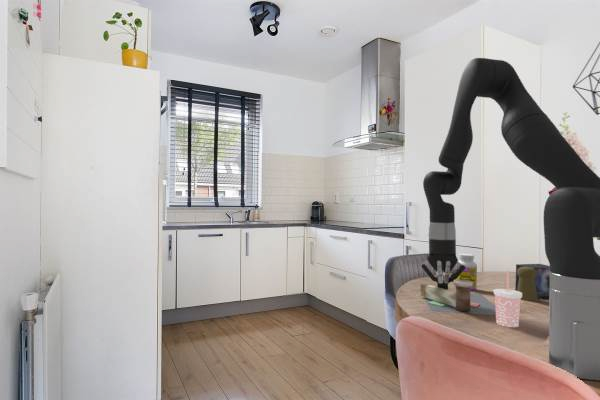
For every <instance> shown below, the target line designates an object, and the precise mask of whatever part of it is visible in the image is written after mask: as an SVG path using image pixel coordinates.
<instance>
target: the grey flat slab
mask: <svg viewBox="0 0 600 400" xmlns="http://www.w3.org/2000/svg"><path fill="white" fill-rule="evenodd" d="M419 292H420V293H421V289H420V290H419ZM423 299H424V301H425V303H426V305H427V306H428V308H429V310H430V311H432V312H445V313H459V314H474V315H485V316H486V315H487V316H496V308H495V303H493V302H491V301H490V300H489V299H487V298H486V296H484V295H483V294H481V293H473V292H472V293H471V292H470V311H460V310H457V309H456V307H454V306H451V305H448V304H445V303H442V302H439V301H435V300H432V299H429V298H426V297H423Z"/></svg>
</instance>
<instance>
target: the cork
mask: <svg viewBox="0 0 600 400" xmlns="http://www.w3.org/2000/svg"><path fill="white" fill-rule="evenodd" d="M517 274H518V276H519V282H518V288H517V291H519V292H521V293H522V297H521V301H526V302H538V300H539V299H538V298H537V291H536V284H535V278H536V276H537V271H536V270H535V269H534V268H531V267H520V268H518V270H517Z"/></svg>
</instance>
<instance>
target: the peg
mask: <svg viewBox="0 0 600 400" xmlns="http://www.w3.org/2000/svg"><path fill="white" fill-rule="evenodd" d="M453 286H455V291H452V290H449V289H448V290H446V289H442V288H439V287H437V286H435V285H431V284H429V283H420V290H421V292H420V297H423V298H424V297H426V298H429V299H432V300H435V301H439V302H442V303H445V304H448V305H451V306H454V307H456V309H457V310H460V311H470V293H471V290H470V287H473V282H472V281H470V280H463V279H455V280H454V282H453Z"/></svg>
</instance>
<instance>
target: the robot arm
mask: <svg viewBox="0 0 600 400" xmlns="http://www.w3.org/2000/svg"><path fill="white" fill-rule="evenodd" d="M458 84H459V85H458V88H457V92H456V97H455V102H454V105H453V110H452V111H453V112H452V117H451V121H450V126H449V129H448V132H447V135H446V137H445V141H444V143H443V146H442V147H441V151H440V154H439V156H438V163H439V164H440V166H442V167H444V168H446V169H447V170H446V171H436V170H435V171H429V172H427V173H426V174H425V176H424V179H423V180H422V184H423V190H424V195H425V198H426V202H427V205H428V209H429V227H428V256H427V259H426V261H423V262H422V263H420V267H421V268H422V269H423V270H424V272H425V273H426V275H428V277H429V278H430V279H431V280H432V281H433V282H436V285H437V286H436V287H439V288H442V289H446V290H449V284H450V283H454V280H455V279H457V278H458V276H459V275H460V274H461V273H462V272H463V271H464V269H465V266H464V265H462V264H460V263H459V262H458V261H459V259H458V257H457V247H456V245H457V242H456V241H457V233H456V231H457V230H456V224H455V223H456V221H455V218H456V217H455V215H456V214H455V206H454V204H452V203H449V202H447V201H444V199H443V197H442V195H443V196H444V195H445V196H451V195H455V193H457V192H458V191H459V190H460V188H461V186H462V180H463V178H462V177H463V172H464V171H463V170H464V165H465V161H466V159H467V157H468V155H469V152H470V151H471V148H472V145H473V137H474V136H473V135H474V133H473V129H472V128H473V127H472V121H471V120H472V119H471V118H472V117H471V112H472V108H473V105H474V103H475V100H476V99H477V98H487V99H491V100H493V101H495V103H496V104H498V106H499V107H500V109H501V110H502V111H503V116H502V120H501V125H500V129H501V135H502V138H503V140H504V141H505V143H506V144H507V146H508V147H509V149H510V150H511V152H512V153H513V155H514V156H515V157H516V158H517V159H518V160H519V161H520V162H521V163H523V164H524V165H525V166H527V167H528V168H529V169H531V170H532V171H534V172H535V173H537V174H538V175H540V176H541V177H543V178H544V179H546V180H547V181H549V183H551V184H552V185H553V186H554V187H555V188H556V189H555V190H553V191H552V193H550V194H549V196H548V197H547V199H546V201H545V205H544V209H543V232H544V233H543V235H544V238H543V239H544V252H545V255H546V258H547V261H548V263H549V266H550V295H549V300H548V301H549V307H548V308H549V310H548V312H549V314H548V317H549V320H548V322H549V323H548V326H549V327H548V345H549V346H548V347H549V348H548V364H549V365H550V364H552V365H554V366H556V367H559V368H561V369H563V370H566V371H567V372H569V373H571V374H573V375H575V376H577V377H578V378H577V379H579V378H580V380H581V379H582V380H591V381H600V254H598V253H597V251H596V249H595V246H594V245H595V242H594V238H600V176H598V175H597V173H595V171H593V170H592V169H591V168H590V167H589V166H588V165H587V164H586V163H585V162H584V161H583V159H582V158H581V157H580V155H579V154H578V153H577V151H576V150H575V149H574V148H573V146H572V145H571V144H570V143H569V141H567V139H566V138H565V137H564V136H563V134H562V133H561V132H560V130H559V129H558V128H557V126H556V125H555V124H554V123H553V121H552V120H551V119H550V117H549V116H548V115H547V114H546V113H545V112H544V111H543V110H542V109H541V107H540V106H539V105H538V103H537V102H536V100H535V99H534V98H533V97H532V95H531V94H530V93H529V92H528V90H527V88H526V87H525V86H524V84H523V82H522V80H521V78H520V76H519V75H518V73H517V71H516V70H515V68H514V66H513V65H512V64H510V62H507V61H505V60H502V59H493V58H487V57H486V58H485V57H475V58H473V59H471V60H470V61H468V63H467V65H466V66H465V67H464V70H463V71H462V73H461V77H460V80H459V83H458ZM430 266H431V267H432V269H433V270H434V271H435V273H436V276H435V275H434V274H433V272H431V270H430ZM454 268H455V270H454V271H453V272H452V273H451V275H450V272H451V271H452V270H453V269H454ZM552 365H551V366H552Z"/></svg>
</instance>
